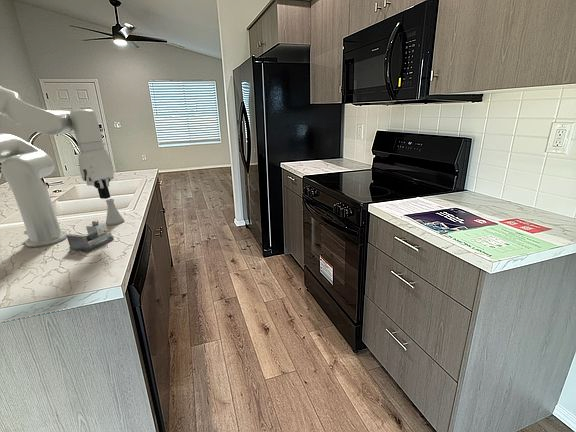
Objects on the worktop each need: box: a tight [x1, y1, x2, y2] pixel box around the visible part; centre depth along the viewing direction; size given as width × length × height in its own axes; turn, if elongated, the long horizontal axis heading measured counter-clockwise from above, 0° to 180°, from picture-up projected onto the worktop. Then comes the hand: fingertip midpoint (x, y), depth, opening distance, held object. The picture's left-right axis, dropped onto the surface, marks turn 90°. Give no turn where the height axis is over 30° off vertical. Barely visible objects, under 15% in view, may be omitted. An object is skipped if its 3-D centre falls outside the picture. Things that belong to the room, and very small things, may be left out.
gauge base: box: [66, 231, 115, 253], centre depth 109 cm, size 11×8×6 cm
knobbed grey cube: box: [85, 220, 109, 239], centre depth 111 cm, size 4×6×6 cm, turn 74°
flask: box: [105, 198, 125, 226], centre depth 130 cm, size 7×7×10 cm
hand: (105, 197), depth 114 cm, fingers closed
